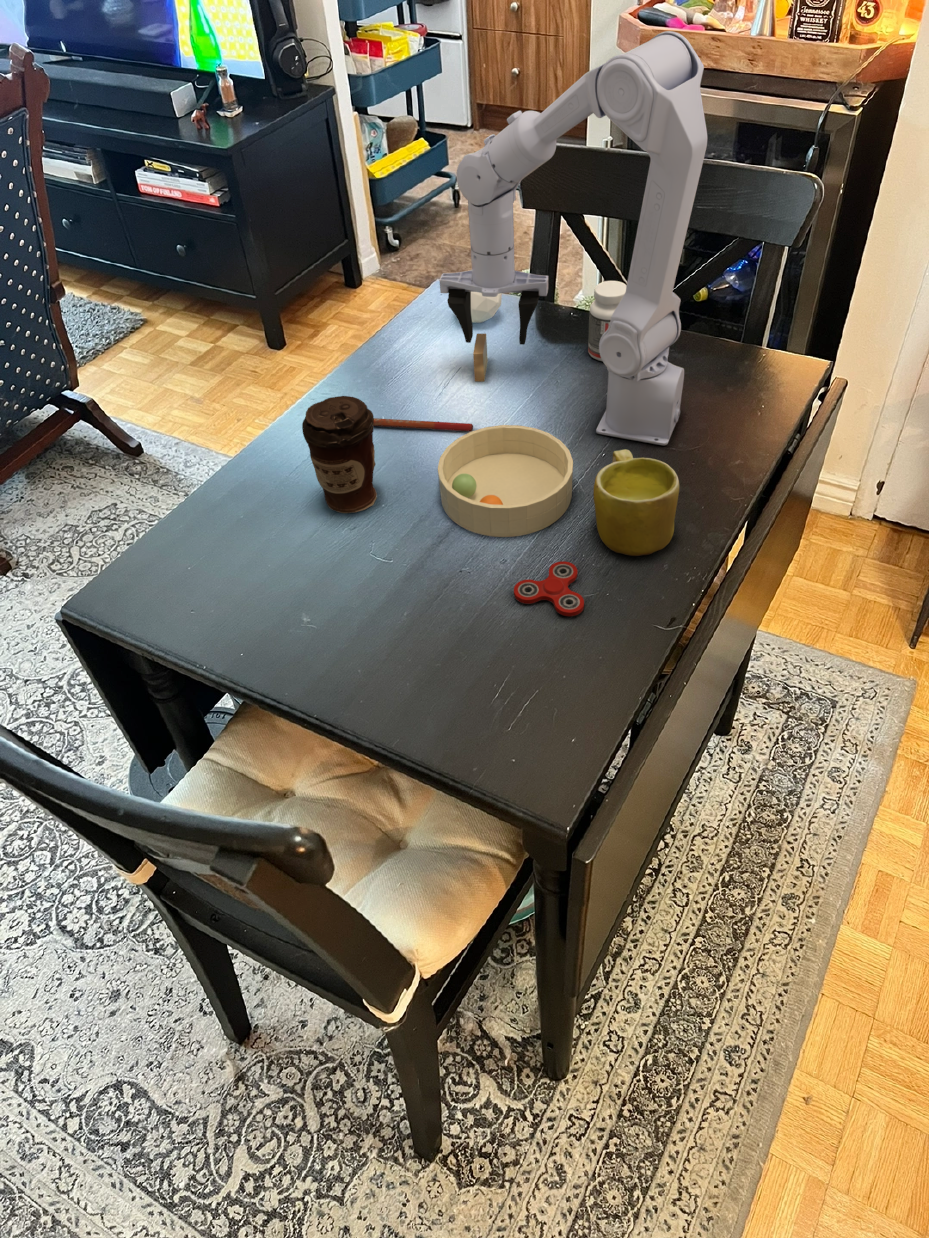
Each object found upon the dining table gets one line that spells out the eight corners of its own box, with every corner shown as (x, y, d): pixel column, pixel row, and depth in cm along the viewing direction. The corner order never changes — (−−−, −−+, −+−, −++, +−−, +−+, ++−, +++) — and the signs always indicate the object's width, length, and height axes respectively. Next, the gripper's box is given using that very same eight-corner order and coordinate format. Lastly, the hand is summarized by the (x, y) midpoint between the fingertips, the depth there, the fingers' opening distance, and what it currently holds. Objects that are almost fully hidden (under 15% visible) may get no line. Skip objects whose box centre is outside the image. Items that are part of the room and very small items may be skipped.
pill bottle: (629, 362, 132) (634, 297, 124) (589, 364, 132) (592, 299, 125) (624, 341, 135) (629, 277, 128) (586, 343, 136) (589, 279, 129)
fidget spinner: (509, 601, 100) (509, 592, 99) (535, 558, 105) (535, 550, 104) (577, 621, 97) (577, 613, 96) (601, 577, 102) (602, 569, 101)
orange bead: (505, 494, 107) (493, 513, 106) (509, 509, 109) (497, 528, 108) (483, 486, 108) (471, 505, 107) (488, 501, 111) (476, 520, 110)
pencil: (473, 428, 122) (473, 422, 122) (472, 433, 122) (472, 426, 121) (338, 420, 126) (337, 415, 125) (336, 425, 125) (335, 419, 124)
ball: (489, 338, 144) (501, 314, 136) (441, 322, 142) (450, 297, 135) (500, 296, 145) (513, 269, 137) (452, 279, 144) (462, 252, 136)
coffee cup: (374, 525, 110) (358, 436, 101) (309, 519, 112) (287, 431, 102) (392, 480, 116) (379, 392, 107) (330, 475, 118) (312, 388, 108)
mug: (696, 554, 101) (675, 477, 95) (606, 576, 104) (581, 502, 98) (687, 501, 110) (667, 428, 105) (604, 523, 113) (582, 453, 108)
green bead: (478, 497, 110) (482, 474, 111) (456, 489, 109) (459, 467, 110) (468, 504, 113) (472, 482, 114) (446, 497, 112) (450, 475, 112)
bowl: (588, 467, 116) (589, 437, 112) (547, 549, 105) (547, 520, 102) (469, 444, 120) (467, 415, 117) (420, 521, 110) (416, 492, 107)
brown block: (474, 381, 130) (473, 353, 127) (478, 361, 134) (476, 333, 131) (484, 381, 130) (482, 353, 127) (487, 361, 134) (486, 333, 131)
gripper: (432, 258, 117) (440, 353, 127) (544, 261, 115) (543, 357, 125) (442, 234, 122) (449, 327, 132) (550, 236, 120) (549, 330, 130)
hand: (496, 340), depth 129 cm, fingers open, 7 cm apart
